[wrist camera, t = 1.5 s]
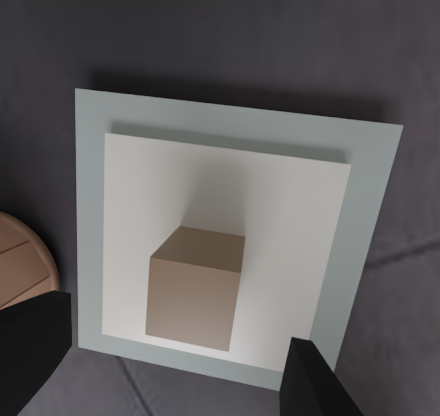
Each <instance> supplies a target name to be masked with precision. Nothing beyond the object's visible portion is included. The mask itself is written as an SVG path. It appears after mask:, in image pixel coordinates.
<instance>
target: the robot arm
mask: <svg viewBox="0 0 440 416" xmlns="http://www.w3.org/2000/svg"><path fill="white" fill-rule="evenodd" d="M71 346H72V324H71V293H66V292H61V291H56V290H53V291H49V292H46V293H43V294H40V295H37V296H35V297H32V298H29V299H27V300H24V301H21V302H19V303H16V304H13V305H11V306H8V307H6V308H3V309H1V310H0V416H17V415H18V414H19V412H20V411H21V410H22V409H23V408H24V407H25V406H26V404H27V403H28V402H29V401H30V400H31V399H32V397H33V396H34V395H35V394H36V393H37V392H38V390H39V389H40V388H41V387H42V386H43V385H44V383H45V382H46V381H47V380H48V379H49V377H50V376H51V375H52V373H53V372H54V371H55V369H56V368H57V366H58V365H59V364H60V362H61V361H62V359H63V358H64V356H65V355H66V353H67V352H68V350H69V349H70V347H71ZM279 391H280V416H364V415H363V414H362V413H361V411H360V410H359V408H358V407H357V406H356V404H355V403H354V401H353V400H352V399H351V397H350V396H349V394H348V393H347V392H346V390H345V389H344V387H343V386H342V384H341V383H340V381H339V380H338V378H337V377H336V375H335V374H334V373H333V371H332V370H331V368H330V367H329V365H328V364H327V362H326V361H325V359H324V358H323V356H322V355H321V353H320V352H319V350H318V349H317V347H316V346H315V344H314V343H313V341H311V340H306V339H301V338H295V337H291V341H290V346H289V350H288V355H287V359H286V364H285V368H284V372H283V377H282V381H281V386H280V390H279Z"/></svg>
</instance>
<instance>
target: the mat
mask: <svg viewBox="0 0 440 416" xmlns="http://www.w3.org/2000/svg"><path fill="white" fill-rule="evenodd" d="M75 115H76V189H77V263H78V337H79V347H80V348H85V349H90V350H94V351H99V352H103V353H108V354H112V355H117V356H121V357H126V358H131V359H135V360H140V361H144V362H149V363H153V364H158V365H162V366H167V367H172V368H176V369H181V370H185V371H190V372H194V373H199V374H203V375H208V376H213V377H217V378H222V379H226V380H231V381H235V382H240V383H245V384H249V385H254V386H258V387H263V388H267V389H272V390H276V391H279V390H280V386H281V381H282V377H283V372H279V371H275V370H270V369H265V368H260V367H256V366H251V365H246V364H242V363H237V362H232V361H227V360H223V359H218V358H213V357H209V356H204V355H199V354H194V353H190V352H185V351H180V350H176V349H171V348H166V347H161V346H157V345H152V344H147V343H142V342H138V341H133V340H128V339H124V338H119V337H114V336H109V335H105V334H102V306H103V229H104V151H105V133H113V134H121V135H128V136H136V137H144V138H152V139H159V140H167V141H175V142H183V143H190V144H198V145H206V146H213V147H221V148H229V149H237V150H244V151H252V152H260V153H267V154H275V155H283V156H291V157H298V158H306V159H314V160H321V161H329V162H337V163H345V164H350V165H351V169H350V173H349V177H348V181H347V185H346V189H345V194H344V198H343V202H342V206H341V210H340V214H339V218H338V222H337V226H336V230H335V234H334V239H333V243H332V247H331V251H330V255H329V259H328V263H327V267H326V271H325V275H324V279H323V283H322V288H321V292H320V296H319V300H318V304H317V308H316V312H315V316H314V320H313V324H312V328H311V332H310V337H309V340H311V341H313V343H314V344H315V346H316V347H317V349H318V350H319V352H320V353H321V355H322V356H323V358H324V359H325V361H326V362H327V364H328V365H329V367H330V368H331V370H332V371H333V373H334V369H335V366H336V362H337V359H338V355H339V352H340V348H341V345H342V341H343V338H344V334H345V330H346V327H347V323H348V320H349V316H350V313H351V309H352V306H353V302H354V299H355V295H356V292H357V288H358V285H359V281H360V277H361V274H362V270H363V267H364V263H365V260H366V256H367V253H368V249H369V246H370V242H371V239H372V235H373V232H374V228H375V225H376V221H377V217H378V214H379V210H380V207H381V203H382V200H383V196H384V193H385V189H386V186H387V182H388V179H389V175H390V172H391V168H392V164H393V161H394V157H395V154H396V150H397V147H398V143H399V140H400V136H401V133H402V129H403V126H404V125H396V124H387V123H378V122H369V121H360V120H351V119H342V118H334V117H325V116H316V115H307V114H298V113H289V112H280V111H272V110H263V109H254V108H245V107H236V106H227V105H218V104H210V103H201V102H192V101H183V100H174V99H165V98H156V97H148V96H139V95H130V94H121V93H112V92H103V91H94V90H86V89H77V88H75Z"/></svg>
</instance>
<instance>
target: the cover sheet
mask: <svg viewBox="0 0 440 416" xmlns="http://www.w3.org/2000/svg"><path fill="white" fill-rule="evenodd" d="M350 169H351V165H350V164H345V163H337V162H329V161H321V160H314V159H306V158H298V157H291V156H283V155H275V154H267V153H260V152H252V151H244V150H237V149H229V148H221V147H213V146H206V145H198V144H190V143H183V142H175V141H167V140H159V139H152V138H144V137H136V136H128V135H121V134H113V133H105V151H104V229H103V306H102V334H105V335H109V336H114V337H119V338H124V339H128V340H133V341H138V342H142V343H147V344H152V345H157V346H161V347H166V348H171V349H176V350H180V351H185V352H190V353H194V354H199V355H204V356H209V357H213V358H218V359H223V360H227V361H232V362H237V363H242V364H246V365H251V366H256V367H260V368H265V369H270V370H275V371H279V372H284V368H285V364H286V359H287V355H288V350H289V346H290V341H291V337H295V338H301V339H306V340H309V337H310V332H311V328H312V324H313V320H314V316H315V312H316V308H317V304H318V300H319V296H320V292H321V288H322V283H323V279H324V275H325V271H326V267H327V263H328V259H329V255H330V251H331V247H332V243H333V239H334V234H335V230H336V226H337V222H338V218H339V214H340V210H341V206H342V202H343V198H344V194H345V189H346V185H347V181H348V177H349V173H350Z"/></svg>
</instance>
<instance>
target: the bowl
mask: <svg viewBox="0 0 440 416" xmlns="http://www.w3.org/2000/svg"><path fill="white" fill-rule="evenodd" d="M53 290H56V291H60V278H59V273H58V269H57V266H56V264H55V261H54V259H53V257H52V255H51V253H50V251H49V250H48V248H47V246H46V245H45V244H44V242H43V241H42V240H41V239H40V237H39V236H38V235H37V234H36V233H35V232H34V231H33V230H32V229H31V228H29V227H28V226H27V225H26V224H24V223H23V222H21V221H20V220H18V219H17V218H15V217H13V216H11V215H9V214H7V213H4V212H1V211H0V310H1V309H3V308H6V307H8V306H11V305H13V304H16V303H19V302H21V301H24V300H27V299H29V298H32V297H35V296H37V295H40V294H43V293H46V292H49V291H53Z"/></svg>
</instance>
